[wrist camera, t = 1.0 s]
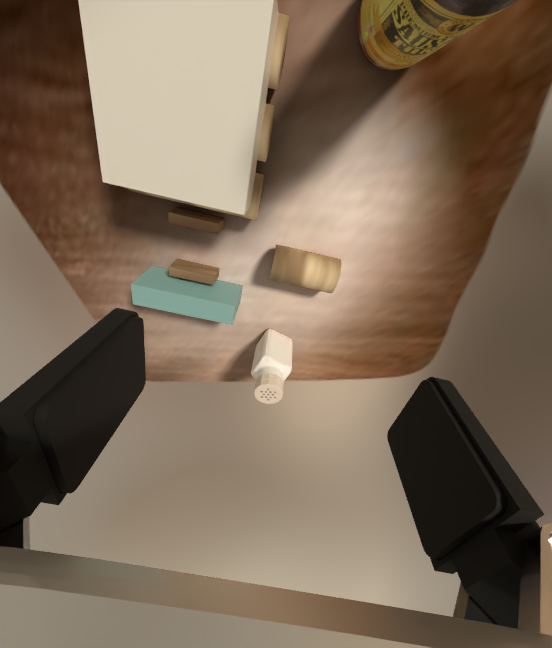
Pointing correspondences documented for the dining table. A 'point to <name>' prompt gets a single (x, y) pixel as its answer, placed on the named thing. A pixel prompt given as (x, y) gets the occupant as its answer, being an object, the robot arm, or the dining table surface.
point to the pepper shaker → (271, 366)
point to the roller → (305, 269)
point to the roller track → (217, 223)
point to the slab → (180, 94)
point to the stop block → (186, 296)
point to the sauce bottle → (417, 27)
